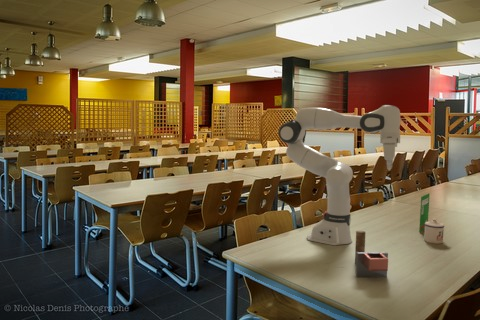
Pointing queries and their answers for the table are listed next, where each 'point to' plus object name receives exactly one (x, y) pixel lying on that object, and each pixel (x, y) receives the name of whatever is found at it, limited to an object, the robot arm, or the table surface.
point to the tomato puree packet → (424, 211)
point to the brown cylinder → (360, 242)
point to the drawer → (371, 264)
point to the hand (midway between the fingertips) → (389, 168)
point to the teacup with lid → (434, 232)
